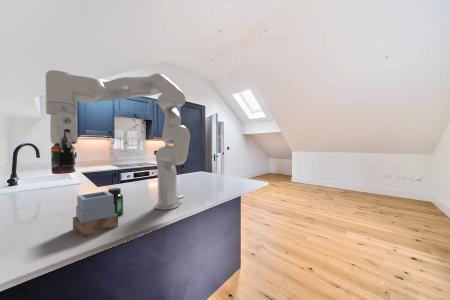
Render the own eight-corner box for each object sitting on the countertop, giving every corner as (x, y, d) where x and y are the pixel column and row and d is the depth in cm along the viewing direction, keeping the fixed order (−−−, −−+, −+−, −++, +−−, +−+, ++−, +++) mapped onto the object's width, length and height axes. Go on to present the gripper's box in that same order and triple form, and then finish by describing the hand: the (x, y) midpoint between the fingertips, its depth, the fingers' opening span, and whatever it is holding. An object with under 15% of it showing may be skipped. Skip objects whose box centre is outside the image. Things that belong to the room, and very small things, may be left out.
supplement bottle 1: (80, 171, 62) (79, 139, 62) (65, 174, 56) (64, 139, 56) (62, 172, 62) (62, 139, 62) (46, 174, 56) (45, 139, 56)
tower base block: (105, 220, 75) (105, 209, 75) (118, 227, 69) (118, 214, 69) (72, 230, 66) (72, 217, 66) (83, 239, 60) (83, 224, 60)
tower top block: (106, 209, 75) (106, 190, 75) (114, 215, 68) (114, 194, 68) (76, 216, 67) (76, 195, 67) (81, 223, 60) (81, 200, 60)
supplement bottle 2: (123, 216, 80) (123, 189, 80) (105, 219, 76) (105, 191, 76) (122, 211, 85) (122, 186, 85) (105, 214, 81) (105, 188, 81)
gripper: (85, 109, 57) (86, 164, 57) (68, 115, 67) (69, 162, 67) (53, 104, 51) (54, 166, 51) (40, 111, 61) (40, 164, 61)
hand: (63, 163), depth 59 cm, fingers closed on supplement bottle 1, 6 cm apart
